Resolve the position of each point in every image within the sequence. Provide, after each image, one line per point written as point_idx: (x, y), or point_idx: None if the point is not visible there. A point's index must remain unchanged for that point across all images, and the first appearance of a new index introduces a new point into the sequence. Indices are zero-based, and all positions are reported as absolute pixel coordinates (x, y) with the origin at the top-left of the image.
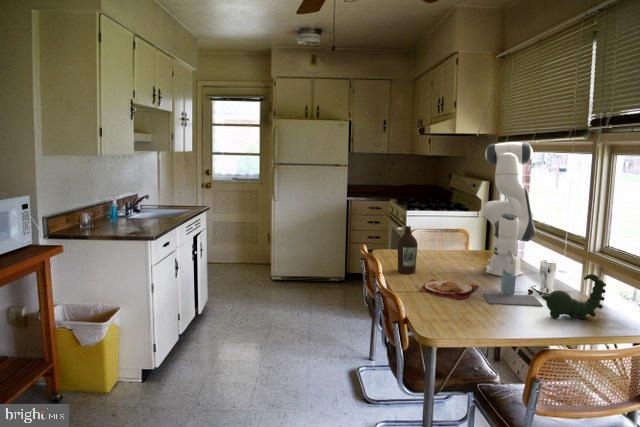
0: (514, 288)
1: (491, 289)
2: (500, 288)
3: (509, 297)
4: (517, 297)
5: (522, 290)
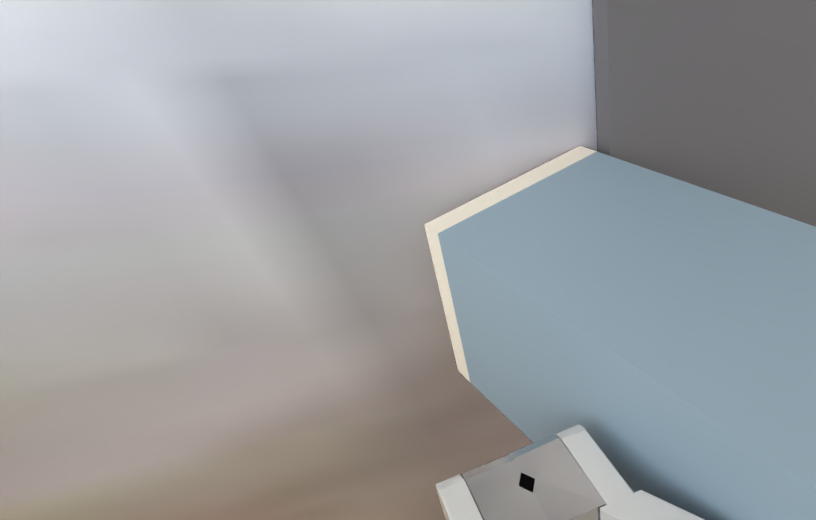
0: (706, 191)
1: (347, 462)
2: (478, 384)
3: (752, 189)
4: (752, 80)
5: (98, 8)
